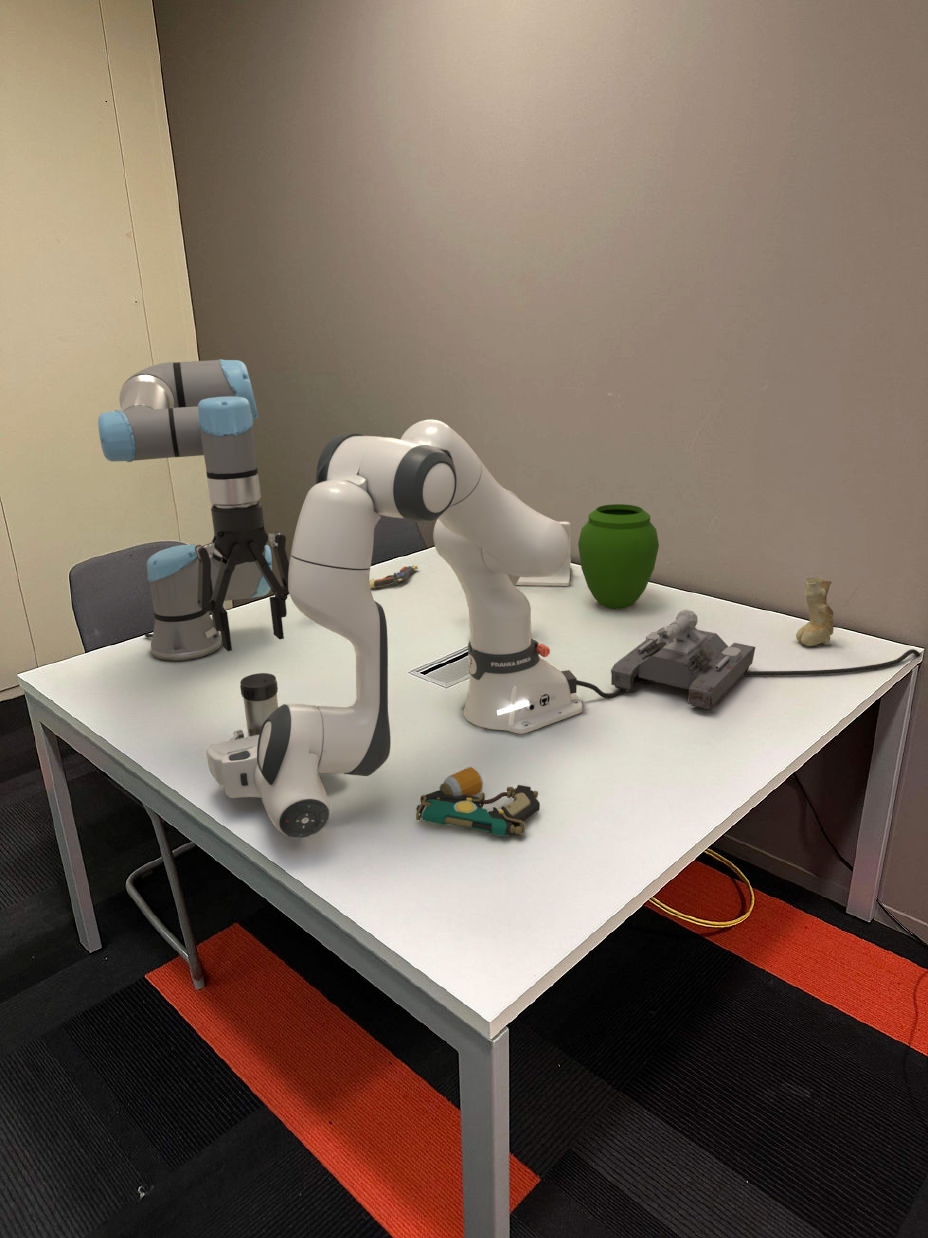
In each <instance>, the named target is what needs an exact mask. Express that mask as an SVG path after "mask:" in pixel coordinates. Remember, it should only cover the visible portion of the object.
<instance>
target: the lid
mask: <svg viewBox="0 0 928 1238" xmlns="http://www.w3.org/2000/svg"><path fill="white" fill-rule="evenodd" d="M239 683H240V685H239V687H240V695H241V697H242V698H245V699H247V700H253V701H256V700H264V699H268V698H270V697H272V696H274V695H275V694H276V693H277V694H278V690H279V688H278V681H277V677H276V676H275V675H274V674H271V673H267V672H259V673H251V674H249V675H247V676H245V677H243V678H242V679H241V680H240V682H239Z"/></svg>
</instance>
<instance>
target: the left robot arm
mask: <svg viewBox="0 0 928 1238" xmlns="http://www.w3.org/2000/svg"><path fill="white" fill-rule="evenodd" d="M252 387H253V386H252V382H251V379H250V375H249V371H248V367H247V365H246V364H245V363H244V362H243V361H241V360H239V359H223V358H219V359H210V360H208V359H207V360H195V361H178V362H173V361H171V362H170V361H168V362H162V363H157V364H154V365H150V366H147V367H145V368H143V369H141V370H140V371H137V372H135V373H134V374H132V375H131V376H130V377H129V378H127V380H125V382H124V383H123V385H122V387H121V389H120V391H119V400H118V401H119V406H120V408H121V409H116V410H114V411H105V412H103V413H100V415H99V416H98V419H97V426H98V427H97V428H98V435H99V441H100V445H101V449H102V454H103V456H104V457H105V459H106V460H107V461H109V462H127V463H132V462H135V461H147V460H157V459H170V458H171V459H172V458H185V457H186V458H187V457H199V456H200V457H201V456H202V457H203V458H204V465H205V473H206V481H207V489H208V496H209V502H210V507H211V508H210V512H211V519H212V528H213V538H212V540H211V541H210V542H209V543H207V544H206V543H205V544H203V545H201V544H180V545H174V546H171V547H167V548H165V549H162V550H159V551H157V552H154V554H152V555H151V556H149V558H148V559H147V561H146V572H147V578H146V579H147V582H148V583H149V589H150V596H151V603H152V609H153V615H154V626H153V631H152V633H145V634H144V637H145V638H150V639H151V642H150V650H151V654H152V656H153V657H154V658H156V659H158V660H162V661H169V662H181V661H190V660H195V659H200V658H203V657H206V656H208V655H211V654H213V653H215V652H216V651H218V650H219V649H220V648H221V646H222V648H223V649H224V650H225V651H227V652H232V651H233V646H232V637H231V630H230V623H229V616H228V611H227V609H225V608H224V603H225V602H227V601H237V600H243V599H248V600H250V599H254V598H258V597H264V596H266V595H268V594H269V593H270V591H271V592H272V593H273V595H274V596H269V597H268V598H269V605H270V615H271V624H272V631H273V636H275V637H276V638H277V639H279V640H280V641H281V640H284V639H285V636H284V626H283V618H285V617H287V615H288V613H287V612H288V611H287V600H288V596H290V594H289V591H288V571H289V563H290V561H289V558H288V555H287V551H286V544H287V543H286V542H287V537H286V535H284V534H283V533H281V532H279V531H275V532H274V533H272V532H271V533H268V532H267V530H266V527H265V519H264V512H263V504H262V503H261V502H260V499H262V492H261V486H260V485H261V484H260V479H259V470H258V465H257V452H256V441H255V432H254V421H255V420H256V419H258V418H259V413H258V408H257V404H256V399H255V395H254V391H253V388H252ZM267 543H269V545H268V544H267ZM270 546H271V547H272V549H271V547H270ZM272 550H273V554H274V558H275V562H276V566H277V569H278V572H279V575H280V580H281V583H282V586H281V584H280V582H279V580H278V578H277V577H276V575H275V574H274V572H273V565H272V563H273V559H272V558H273V556H272ZM210 613H211V615H210Z"/></svg>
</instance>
